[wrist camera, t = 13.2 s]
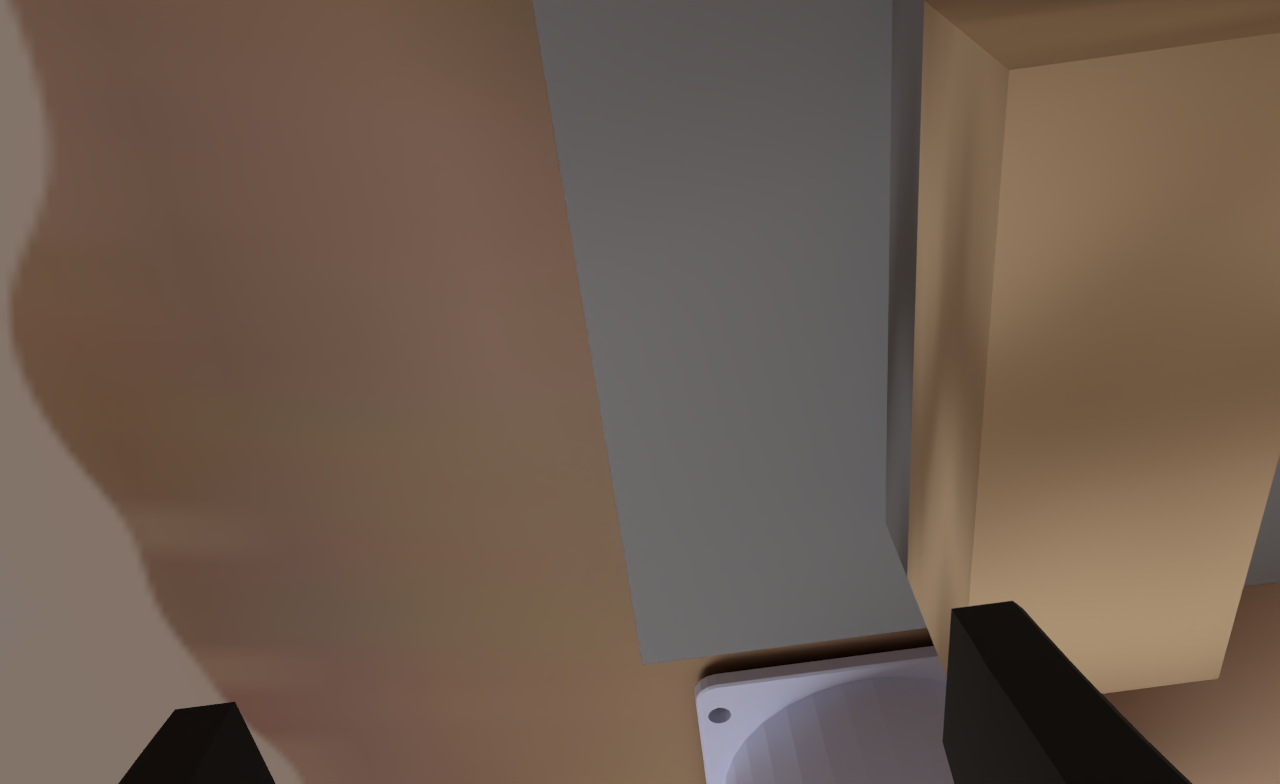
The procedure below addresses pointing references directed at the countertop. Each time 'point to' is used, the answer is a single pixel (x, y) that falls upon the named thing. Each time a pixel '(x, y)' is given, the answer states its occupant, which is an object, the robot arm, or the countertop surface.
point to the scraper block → (1085, 319)
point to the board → (742, 309)
